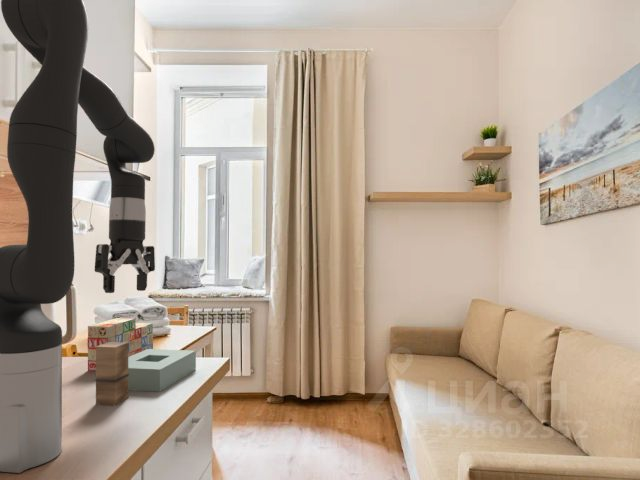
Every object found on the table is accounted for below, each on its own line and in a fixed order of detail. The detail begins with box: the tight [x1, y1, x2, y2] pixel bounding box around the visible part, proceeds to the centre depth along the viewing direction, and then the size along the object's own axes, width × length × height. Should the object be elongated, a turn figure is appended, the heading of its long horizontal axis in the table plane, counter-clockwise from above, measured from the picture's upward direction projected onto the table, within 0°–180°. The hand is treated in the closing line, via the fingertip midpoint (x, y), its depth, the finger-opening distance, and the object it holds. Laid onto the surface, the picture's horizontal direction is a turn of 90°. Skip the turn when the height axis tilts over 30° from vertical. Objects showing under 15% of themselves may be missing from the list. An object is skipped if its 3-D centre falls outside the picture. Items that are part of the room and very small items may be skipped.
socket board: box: [128, 348, 197, 392], centre depth 109 cm, size 18×14×5 cm
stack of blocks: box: [87, 317, 154, 372], centre depth 126 cm, size 21×6×12 cm, turn 170°
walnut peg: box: [95, 342, 129, 406], centre depth 93 cm, size 5×5×12 cm
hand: (126, 291), depth 98 cm, fingers open, 8 cm apart
